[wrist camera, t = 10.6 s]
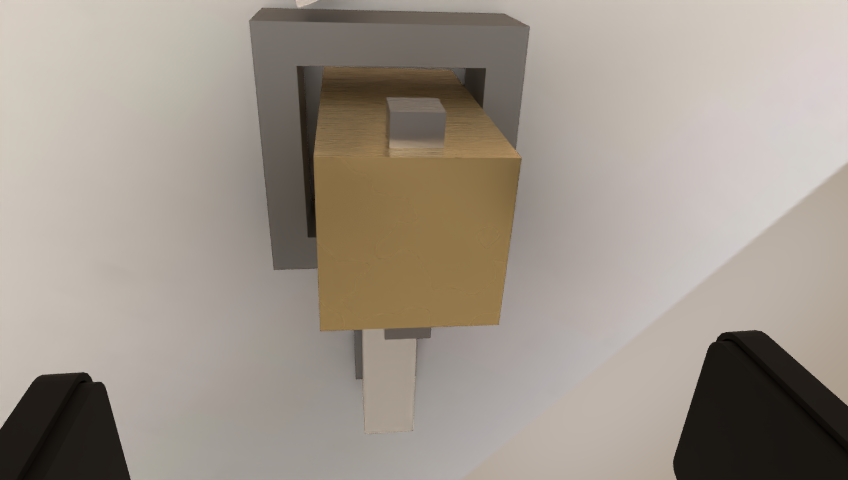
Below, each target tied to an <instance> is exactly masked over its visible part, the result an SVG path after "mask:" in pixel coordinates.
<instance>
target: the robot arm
mask: <svg viewBox="0 0 848 480" xmlns="http://www.w3.org/2000/svg"><path fill="white" fill-rule="evenodd" d="M673 467H674V473H675V475H676V479H677V480H848V406H847V405H846V404H845V403H844V402H842V401H841V400H840V399H839V398H838V397H837V396H836V395H834V394H833V393H832V392H831V391H830V390H829V389H828V388H826V387H825V386H824V385H823V384H822V383H821V382H820V381H819V380H818V379H816V378H815V377H814V376H813V375H812V374H811V373H810V372H809V371H807V370H806V369H805V368H804V367H803V366H802V365H801V364H800V363H798V362H797V361H796V360H795V359H794V358H793V357H792V356H790V355H789V354H788V353H787V352H786V351H785V350H784V349H783V348H781V347H780V346H779V345H778V344H777V343H776V342H775V341H774V340H772V339H771V338H770V337H769V336H768V335H766V334H765V333H763V332H762V331H757V330H753V331H737V332H725V333H722V334H721V335H720V336H719V337H718V338H717V340H716V342H713V343H712V344H711V345H710V346H709V348H708V350H707V353H706V357H705V360H704V363H703V366H702V370H701V373H700V376H699V379H698V382H697V386H696V389H695V392H694V395H693V398H692V402H691V405H690V408H689V411H688V414H687V418H686V421H685V424H684V427H683V431H682V434H681V437H680V440H679V444H678V447H677V450H676V453H675V456H674V460H673ZM0 480H131V479H130V475H129V472H128V468H127V464H126V461H125V457H124V453H123V450H122V446H121V442H120V439H119V435H118V431H117V428H116V424H115V420H114V417H113V413H112V409H111V406H110V402H109V398H108V395H107V391H106V388H105V386H104V384H103V383H102V382H93V381H92V379H91V377H90V376H89V375H88V373H84V372H81V373H65V374H49V375H41V376H39V377H37V378H36V379H35V380H34V381H33V382H32V384H31V385H30V387H29V388H28V390H27V391H26V393H25V394H24V395H23V397H22V398H21V400H20V401H19V403H18V404H17V406H16V407H15V409H14V410H13V412H12V413H11V414H10V416H9V417H8V419H7V420H6V422H5V423H4V425H3V426H2V428H1V429H0Z"/></svg>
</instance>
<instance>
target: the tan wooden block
mask: <svg viewBox="0 0 848 480" xmlns="http://www.w3.org/2000/svg"><path fill="white" fill-rule="evenodd" d="M520 165H521V157H520V155H519V154H518V153H517V152H516V150H515V149H514V148H513V147H512V145H511V144H510V143H509V142H508V140H507V139H506V138H505V137H504V135H503V134H502V133H501V132H500V130H499V129H498V128H497V127H496V125H495V124H494V123H493V122H492V120H491V119H490V118H489V117H488V115H487V114H486V113H485V112H484V110H483V109H482V108H481V107H480V105H479V104H478V103H477V102H476V100H475V99H474V98H473V97H472V95H471V94H470V93H469V92H468V90H467V89H466V88H465V87H464V85H463V84H462V83H461V82H460V80H459V79H458V78H457V77H456V75H455V74H454V73H453V72H452V70H442V69H404V68H367V67H329V66H324V70H323V78H322V87H321V96H320V105H319V113H318V122H317V131H316V139H315V148H314V182H315V208H316V233H317V259H318V284H319V310H320V331H334V330H363V329H383V330H384V339H385V340H391V339H417V338H430V335H431V327H448V326H476V325H499V318H500V311H501V303H502V296H503V289H504V282H505V274H506V267H507V260H508V253H509V245H510V238H511V231H512V223H513V216H514V209H515V202H516V194H517V187H518V180H519V173H520Z"/></svg>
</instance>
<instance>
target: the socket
mask: <svg viewBox="0 0 848 480" xmlns="http://www.w3.org/2000/svg"><path fill="white" fill-rule="evenodd" d="M295 1H296V4H297V6H298V8H300V7H302V6H305V5H308V4H311V3H313V2H316V1H319V0H295ZM249 23H250V33H251V43H252V54H253V64H254V74H255V84H256V94H257V104H258V114H259V125H260V135H261V145H262V155H263V165H264V175H265V185H266V196H267V206H268V216H269V226H270V236H271V246H272V256H273V267H274V270H285V269H315V268H318V259H317V233H316V208H315V201H311V184H310V167H309V150H308V133H307V116H306V100H305V83H304V66H354V67H440V68H466V73H465V88H466V89H467V90H468V92H469V93H470V94H471V95H472V97H473V98H474V99H475V100H476V102H477V103H478V104H479V105H480V107H481V108H482V109H483V110H484V112H485V113H486V114H487V115H488V117H489V118H490V119H491V120H492V122H493V123H494V124H495V125H496V127H497V128H498V129H499V130H500V132H501V133H502V134H503V135H504V137H505V138H506V139H507V140H508V142H509V143H510V144H511V145H512V147H513V148H514V149H515V150H516V141H517V133H518V124H519V115H520V107H521V98H522V90H523V81H524V72H525V64H526V55H527V46H528V38H529V29H530V27H529V26H527V25H525V24H523V23H521V22H519V21H517V20H515V19H513V18H511V17H510V16H508V15H506V14H488V13H447V12H405V11H364V10H322V9H281V8H262V9H261V10H260V11H259V12H258V13H257V14H256V15H255V16H254V17H253V18H252V19H251V20H250V21H249ZM354 331H355V370H356V379H363V406H364V427H365V434H374V433H388V432H402V431H413V420H414V394H415V376H416V353H417V339H391V340H385V339H384V330H383V329H363V330H354Z"/></svg>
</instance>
